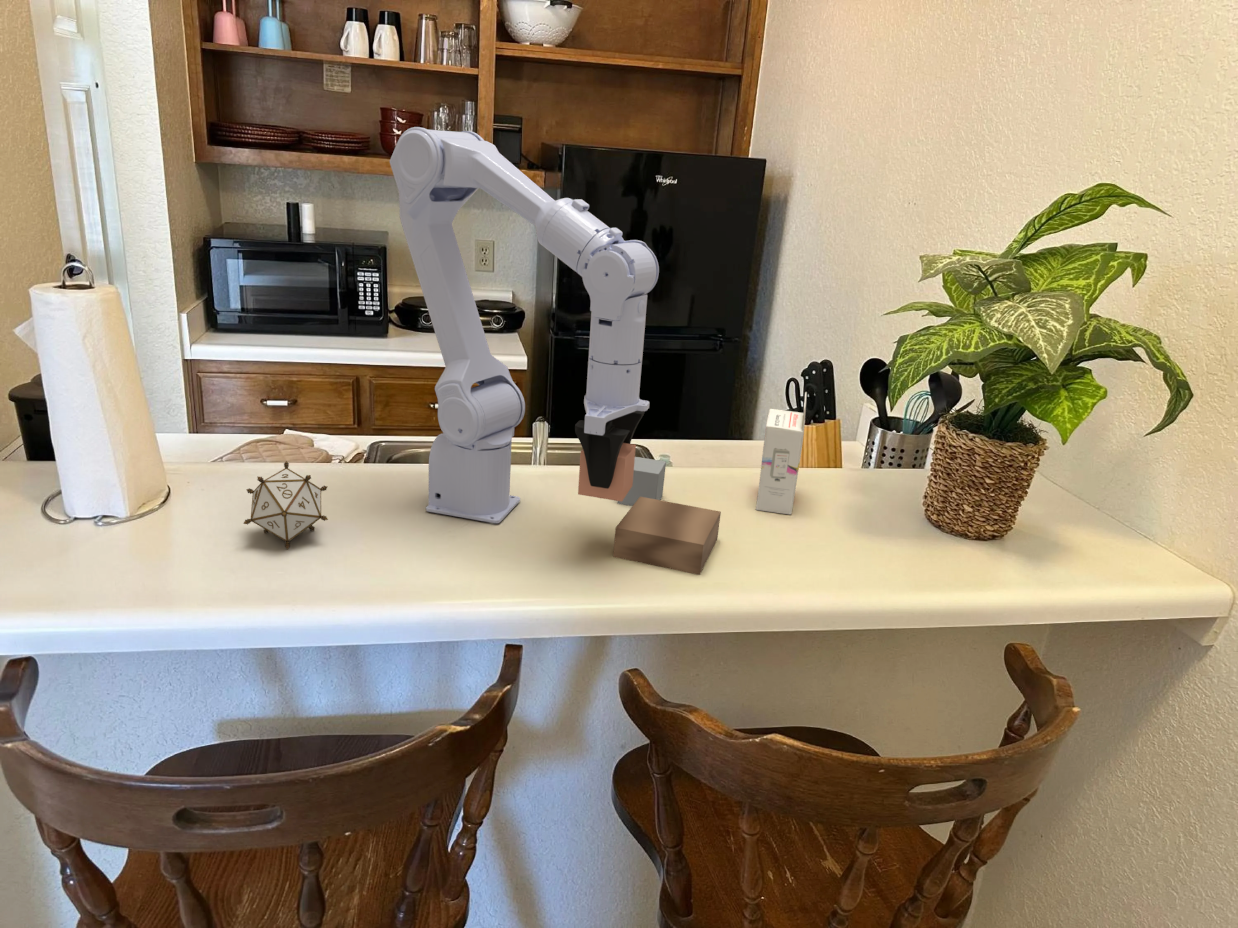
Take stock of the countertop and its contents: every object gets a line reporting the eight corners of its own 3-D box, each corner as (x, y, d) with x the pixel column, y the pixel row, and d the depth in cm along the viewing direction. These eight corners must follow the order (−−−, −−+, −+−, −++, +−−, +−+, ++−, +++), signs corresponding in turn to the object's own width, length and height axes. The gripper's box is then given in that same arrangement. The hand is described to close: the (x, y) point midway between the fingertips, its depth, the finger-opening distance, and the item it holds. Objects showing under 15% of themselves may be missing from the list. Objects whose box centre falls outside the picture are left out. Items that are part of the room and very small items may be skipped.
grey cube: (617, 504, 113) (620, 468, 111) (626, 490, 118) (629, 455, 116) (655, 510, 112) (658, 474, 110) (662, 496, 117) (666, 461, 115)
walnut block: (612, 559, 99) (615, 527, 97) (637, 526, 108) (639, 496, 106) (699, 577, 96) (703, 544, 95) (717, 541, 105) (720, 511, 104)
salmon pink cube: (577, 494, 96) (580, 451, 95) (590, 479, 101) (593, 438, 99) (621, 501, 95) (625, 458, 94) (632, 485, 100) (635, 444, 98)
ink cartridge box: (757, 487, 122) (771, 386, 117) (793, 492, 122) (809, 390, 116) (753, 510, 114) (769, 402, 109) (791, 516, 114) (809, 407, 109)
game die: (309, 567, 98) (357, 511, 94) (237, 563, 92) (285, 502, 88) (288, 506, 103) (332, 450, 99) (218, 497, 96) (262, 437, 92)
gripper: (636, 379, 86) (626, 506, 90) (665, 349, 99) (655, 462, 103) (567, 369, 87) (560, 496, 92) (605, 342, 100) (597, 453, 105)
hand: (606, 477), depth 98 cm, fingers closed on salmon pink cube, 5 cm apart
